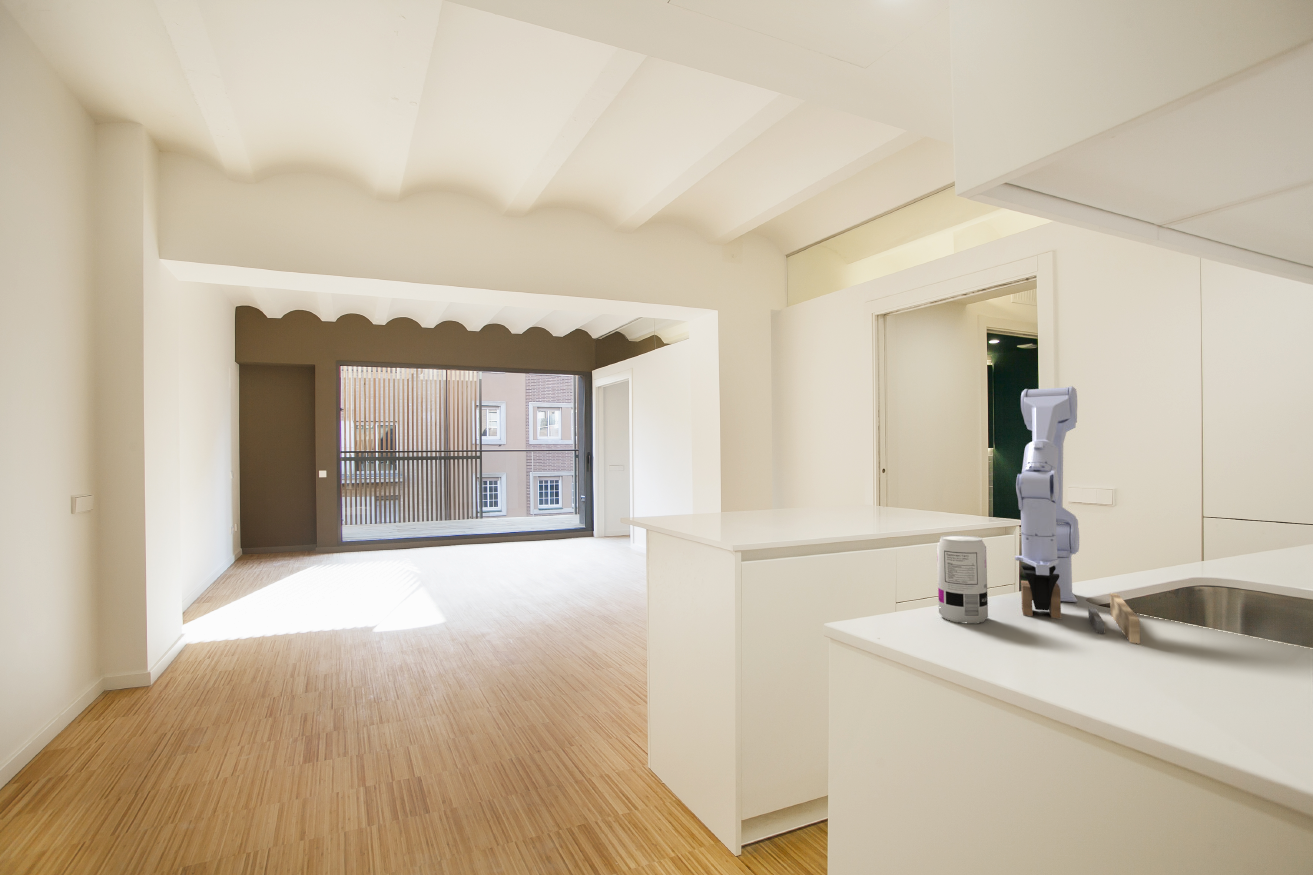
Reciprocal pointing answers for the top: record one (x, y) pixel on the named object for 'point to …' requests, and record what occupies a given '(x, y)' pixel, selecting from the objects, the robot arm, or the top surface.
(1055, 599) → the cabinet block
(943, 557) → the supplement can
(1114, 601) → the cleat board
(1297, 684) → the top surface
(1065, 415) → the robot arm
